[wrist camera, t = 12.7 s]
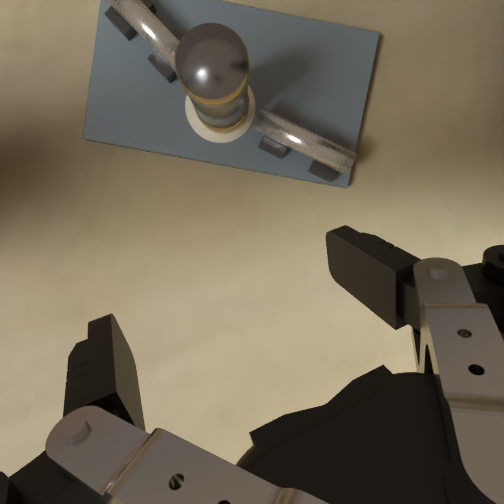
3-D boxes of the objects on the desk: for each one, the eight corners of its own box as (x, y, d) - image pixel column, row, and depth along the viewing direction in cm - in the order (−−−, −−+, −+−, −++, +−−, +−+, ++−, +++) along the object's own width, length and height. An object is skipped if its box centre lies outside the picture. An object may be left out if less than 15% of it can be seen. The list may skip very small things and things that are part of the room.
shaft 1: (206, 67, 34) (201, 46, 29) (180, 95, 34) (170, 78, 30) (136, -7, 33) (120, -39, 29) (109, 22, 33) (89, -5, 29)
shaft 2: (248, 145, 34) (248, 135, 30) (264, 109, 34) (267, 95, 30) (332, 185, 35) (344, 182, 31) (349, 151, 35) (363, 142, 30)
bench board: (87, 140, 34) (81, 137, 33) (108, -16, 33) (102, -25, 32) (344, 188, 35) (348, 187, 34) (375, 38, 34) (380, 31, 32)
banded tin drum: (198, 136, 33) (177, 103, 23) (193, 82, 33) (170, 24, 23) (250, 132, 33) (252, 97, 23) (246, 77, 33) (246, 18, 23)
